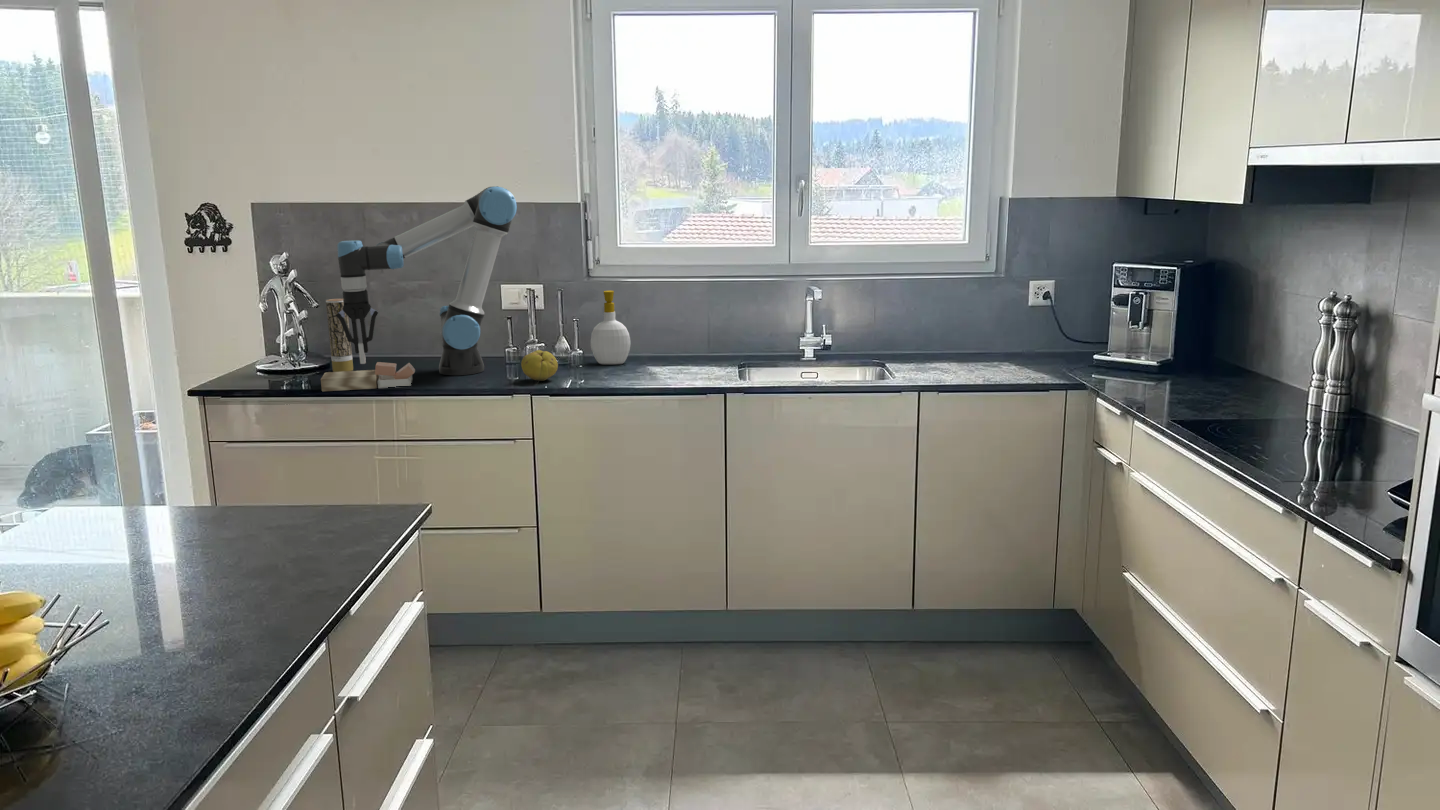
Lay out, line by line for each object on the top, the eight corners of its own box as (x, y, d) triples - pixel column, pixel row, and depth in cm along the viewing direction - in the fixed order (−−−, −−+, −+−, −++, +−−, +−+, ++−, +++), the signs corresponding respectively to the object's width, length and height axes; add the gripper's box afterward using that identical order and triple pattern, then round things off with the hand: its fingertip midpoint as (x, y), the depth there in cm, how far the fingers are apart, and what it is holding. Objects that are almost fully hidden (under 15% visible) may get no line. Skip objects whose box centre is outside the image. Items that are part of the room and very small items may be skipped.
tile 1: (395, 372, 330) (396, 363, 329) (394, 376, 324) (395, 366, 324) (376, 370, 328) (377, 361, 328) (375, 374, 323) (375, 365, 322)
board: (379, 381, 332) (378, 369, 331) (376, 388, 321) (375, 376, 320) (326, 384, 328) (325, 372, 327) (321, 391, 317) (320, 379, 316)
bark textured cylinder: (346, 373, 345) (339, 301, 339) (328, 373, 346) (321, 300, 340) (357, 370, 351) (350, 298, 346) (339, 369, 353) (332, 298, 347)
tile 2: (394, 373, 330) (400, 380, 331) (393, 377, 324) (399, 384, 325) (409, 362, 330) (415, 369, 331) (408, 365, 325) (414, 372, 326)
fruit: (521, 378, 334) (519, 349, 332) (557, 376, 337) (555, 347, 334) (522, 385, 324) (521, 354, 321) (559, 383, 326) (558, 352, 324)
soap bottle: (632, 361, 363) (630, 288, 357) (629, 365, 354) (627, 291, 348) (593, 361, 363) (590, 289, 357) (589, 365, 355) (586, 292, 349)
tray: (412, 379, 335) (411, 371, 334) (410, 386, 323) (410, 378, 323) (381, 381, 332) (380, 373, 332) (378, 388, 321) (377, 380, 320)
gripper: (377, 287, 323) (385, 359, 329) (334, 289, 320) (343, 362, 326) (375, 290, 316) (383, 363, 322) (331, 292, 313) (340, 366, 319)
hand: (363, 362), depth 324 cm, fingers closed
